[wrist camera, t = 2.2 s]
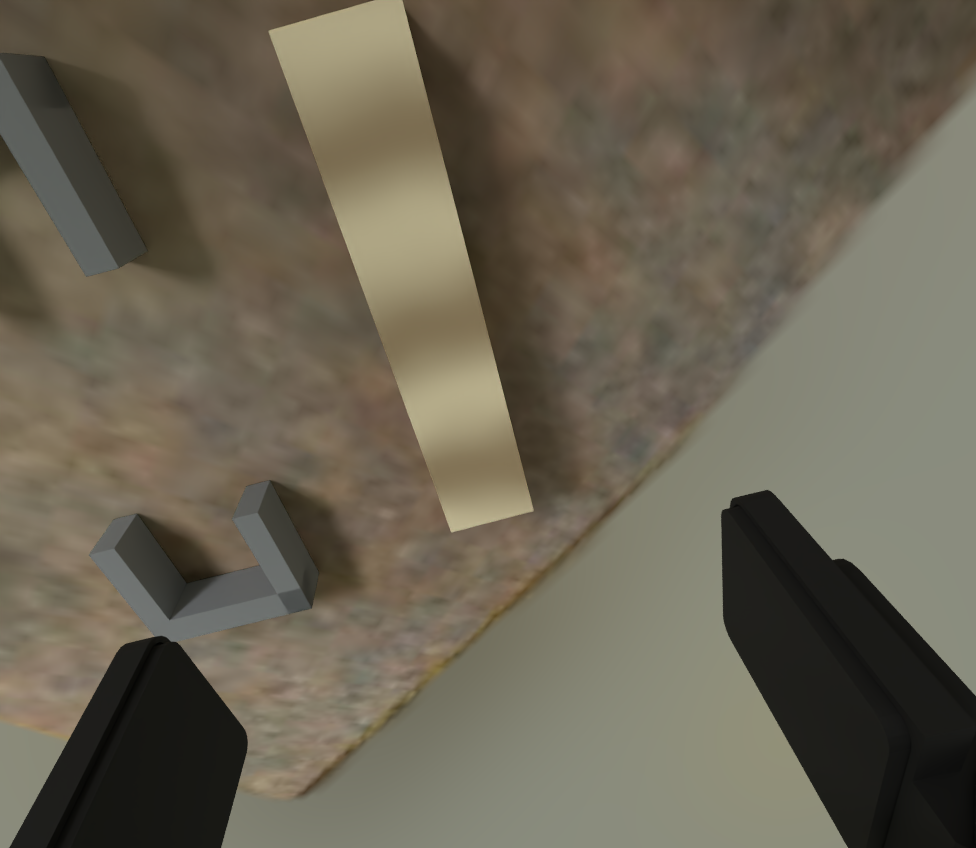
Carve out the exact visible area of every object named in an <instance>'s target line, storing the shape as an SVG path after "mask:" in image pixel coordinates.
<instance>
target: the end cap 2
mask: <svg viewBox="0 0 976 848" xmlns="http://www.w3.org/2000/svg"><path fill="white" fill-rule="evenodd" d="M232 520H233V521H234V523H235V525H236V526H237V528H238V530H239V531H240V533H241V535H242V536H243V538H244V540H245V541H246V543H247V545H248V546H249V548H250V550H251V551H252V553H253V555H254V556H255V558H256V560H257V561H258V563H259V566H255V567H251V568H247V569H243V570H239V571H235V572H231V573H227V574H223V575H219V576H215V577H211V578H207V579H203V580H199V581H195V582H191V583H186V582H185V580H184V579H183V578H182V576H181V575H180V573H179V572H178V571H177V569H176V568H175V566H174V565H173V564H172V562H171V561H170V559H169V558H168V557H167V555H166V554H165V552H164V551H163V550H162V548H161V547H160V545H159V544H158V542H157V541H156V540H155V538H154V537H153V535H152V534H151V533H150V531H149V530H148V528H147V527H146V526H145V524H144V523H143V521H142V520H141V519H140V517H139V516H138V514H134V515H130V516H126V517H122V518H118V519H114V520H113V521H112V523H111V524H110V525H109V527H108V528H107V530H106V531H105V533H104V534H103V535H102V537H101V538H100V540H99V541H98V542H97V544H96V545H95V547H94V548H93V550H92V551H91V552H90V554H89V556H90V557H91V558H92V560H93V561H94V562H95V563H96V565H97V566H98V567H99V568H100V569H101V571H102V572H103V573H104V574H105V576H106V577H107V578H108V579H109V581H110V582H111V583H112V584H113V586H114V587H115V588H116V589H117V590H118V592H119V593H120V594H121V595H122V597H123V598H124V599H125V600H126V602H127V603H128V604H129V605H130V607H131V608H132V609H133V610H134V611H135V613H136V614H137V615H138V616H139V618H140V619H141V620H142V621H143V623H144V624H145V625H146V626H147V628H148V629H149V630H150V631H151V633H152V634H153V635H154V636H155V637H156V636H164V637H167V638H168V639H169V640H170V641H171V642H177V641H181V640H185V639H189V638H193V637H197V636H201V635H205V634H209V633H213V632H217V631H222V630H226V629H230V628H234V627H238V626H242V625H246V624H250V623H254V622H258V621H262V620H266V619H270V618H274V617H278V616H283V615H287V614H291V613H295V612H299V611H303V610H307V609H311V608H312V605H313V600H314V595H315V590H316V585H317V580H318V575H319V572H318V570H317V568H316V566H315V564H314V562H313V561H312V559H311V557H310V555H309V553H308V551H307V549H306V547H305V546H304V544H303V542H302V540H301V538H300V536H299V534H298V532H297V531H296V529H295V527H294V525H293V523H292V521H291V519H290V517H289V515H288V514H287V512H286V510H285V508H284V506H283V504H282V502H281V500H280V499H279V497H278V495H277V493H276V491H275V489H274V487H273V485H272V484H271V482H270V480H269V481H265V482H261V483H257V484H253V485H249V486H246V488H245V490H244V493H243V495H242V497H241V500H240V502H239V504H238V507H237V509H236V511H235V514H234V516H233V518H232Z"/></svg>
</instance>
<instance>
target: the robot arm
mask: <svg viewBox="0 0 976 848" xmlns="http://www.w3.org/2000/svg"><path fill="white" fill-rule="evenodd" d="M721 527H722V577H723V579H722V580H723V619H724V624H725V627H726V630H727V633H728V635H729V637H730V639H731V641H732V643H733V645H734V647H735V648H736V650H737V652H738V654H739V655H740V657H741V659H742V661H743V663H744V664H745V666H746V668H747V670H748V671H749V673H750V675H751V677H752V678H753V680H754V682H755V683H756V686H757V687H758V689H759V691H760V693H761V694H762V696H763V698H764V700H765V701H766V703H767V705H768V707H769V709H770V710H771V712H772V714H773V716H774V717H775V719H776V721H777V723H778V724H779V726H780V728H781V730H782V732H783V733H784V735H785V737H786V739H787V740H788V742H789V744H790V746H791V748H792V749H793V751H794V753H795V755H796V756H797V758H798V760H799V762H800V763H801V765H802V767H803V768H804V771H805V772H806V774H807V776H808V778H809V779H810V781H811V783H812V785H813V787H814V788H815V790H816V792H817V794H818V795H819V797H820V799H821V801H822V802H823V804H824V806H825V808H826V810H827V811H828V813H829V815H830V817H831V818H832V820H833V822H834V824H835V826H836V827H837V829H838V831H839V833H840V834H841V836H842V838H843V840H844V842H845V843H846V845H847V846H848V848H976V696H975V695H974V694H973V693H972V692H971V690H970V689H969V688H968V687H967V686H966V685H965V684H964V683H963V682H962V681H961V680H960V678H959V677H958V676H957V675H956V674H955V673H954V672H953V671H952V670H951V669H950V668H949V666H948V665H947V664H946V663H945V662H944V661H943V660H942V659H941V658H940V657H939V656H938V655H937V653H936V652H935V651H934V650H933V649H932V648H931V647H930V646H929V645H928V644H927V643H926V641H925V640H923V638H922V637H921V636H920V635H919V634H918V633H917V632H916V631H915V629H914V628H913V627H912V626H911V625H910V624H909V623H908V622H907V621H906V620H905V619H904V618H903V616H902V615H901V614H900V613H899V612H898V611H897V610H896V609H895V608H894V607H893V606H892V605H891V603H889V601H888V600H887V599H886V598H885V597H884V596H883V595H882V594H881V592H880V591H879V590H878V589H877V588H876V587H875V586H874V585H873V584H872V583H871V582H870V581H869V580H868V578H867V577H866V576H865V575H864V574H863V573H862V572H861V571H860V570H859V569H858V568H857V567H856V566H855V565H853V564H852V563H851V562H849V561H847V560H845V559H835V560H832V559H831V558H830V557H829V556H828V555H827V554H826V552H825V551H824V550H823V549H822V548H821V547H820V546H819V545H818V544H817V542H816V541H815V540H814V539H813V538H812V537H811V535H810V534H809V533H808V532H807V531H806V530H805V529H804V527H803V526H802V525H801V524H800V523H799V522H798V521H797V519H796V518H795V517H794V516H793V515H792V514H791V513H790V512H789V510H788V509H787V508H786V507H785V506H784V505H783V504H782V502H781V501H780V500H779V499H778V498H777V497H776V496H775V495H774V494H773V493H772V492H771V491H768V490H765V491H761V492H757V493H753V494H748V495H744V496H740V497H736V498H733V499H732V501H731V504H730V508H729V509H725V510H723V511H722V514H721ZM247 746H248V741H247V735H246V731H245V730H244V728H243V727H242V725H241V724H240V723H239V721H238V720H237V719H236V717H235V716H234V715H233V714H232V712H231V711H230V710H229V708H228V707H227V706H226V704H225V703H224V702H223V701H222V699H221V698H220V697H219V695H218V694H217V693H216V691H215V690H214V689H213V688H212V686H211V685H210V684H209V682H208V681H207V680H206V678H205V677H204V676H203V675H202V673H201V672H200V671H199V669H198V668H197V667H196V665H195V664H194V663H193V662H192V660H191V659H190V658H189V656H188V655H187V654H186V652H185V651H184V650H183V649H182V647H181V646H180V645H179V644H178V643H177V642H171V641H170V640H169V639H168V638H167V637H164V636H156V637H152V638H148V639H144V640H139V641H135V642H131V643H127V644H125V645H123V646H122V647H121V648H120V649H119V651H118V652H117V653H116V655H115V657H114V659H113V660H112V662H111V664H110V666H109V668H108V670H107V671H106V673H105V675H104V677H103V679H102V680H101V682H100V684H99V686H98V688H97V690H96V691H95V693H94V695H93V697H92V699H91V700H90V702H89V704H88V706H87V708H86V710H85V711H84V713H83V715H82V717H81V719H80V720H79V722H78V724H77V726H76V728H75V730H74V731H73V733H72V735H71V737H70V739H69V740H68V742H67V744H66V746H65V748H64V750H63V751H62V753H61V755H60V757H59V759H58V760H57V762H56V764H55V766H54V768H53V769H52V771H51V773H50V775H49V777H48V779H47V780H46V782H45V784H44V786H43V788H42V789H41V791H40V793H39V795H38V797H37V799H36V801H35V802H34V804H33V806H32V808H31V809H30V811H29V813H28V815H27V817H26V819H25V820H24V822H23V824H22V826H21V828H20V830H19V831H18V833H17V835H16V837H15V839H14V840H13V842H12V844H11V846H10V848H221V845H222V842H223V838H224V835H225V831H226V827H227V824H228V820H229V816H230V812H231V809H232V805H233V801H234V798H235V794H236V790H237V786H238V783H239V779H240V775H241V772H242V768H243V764H244V760H245V757H246V753H247Z"/></svg>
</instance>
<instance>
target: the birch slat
mask: <svg viewBox="0 0 976 848" xmlns="http://www.w3.org/2000/svg"><path fill="white" fill-rule="evenodd" d="M269 34H270V37H271V40H272V42H273V45H274V48H275V51H276V53H277V56H278V59H279V62H280V64H281V67H282V70H283V73H284V75H285V78H286V81H287V84H288V86H289V89H290V92H291V94H292V97H293V100H294V103H295V105H296V108H297V111H298V114H299V116H300V119H301V122H302V125H303V127H304V130H305V133H306V136H307V138H308V141H309V144H310V147H311V149H312V152H313V155H314V158H315V160H316V163H317V166H318V168H319V171H320V174H321V177H322V179H323V182H324V185H325V188H326V190H327V193H328V196H329V199H330V201H331V204H332V207H333V210H334V212H335V215H336V218H337V221H338V223H339V226H340V229H341V231H342V234H343V237H344V240H345V242H346V245H347V248H348V251H349V253H350V256H351V259H352V262H353V264H354V267H355V270H356V273H357V275H358V278H359V281H360V284H361V286H362V289H363V292H364V295H365V297H366V300H367V303H368V305H369V308H370V311H371V314H372V316H373V319H374V322H375V325H376V327H377V330H378V333H379V336H380V338H381V341H382V344H383V347H384V349H385V352H386V355H387V358H388V360H389V363H390V366H391V368H392V371H393V374H394V377H395V379H396V382H397V385H398V388H399V390H400V393H401V396H402V399H403V401H404V404H405V407H406V410H407V412H408V415H409V418H410V421H411V423H412V426H413V429H414V431H415V434H416V437H417V440H418V442H419V445H420V448H421V451H422V453H423V456H424V459H425V462H426V464H427V467H428V470H429V473H430V475H431V478H432V481H433V484H434V486H435V489H436V492H437V495H438V497H439V500H440V503H441V505H442V508H443V511H444V514H445V516H446V519H447V522H448V525H449V527H450V530H451V532H455V531H459V530H463V529H467V528H470V527H474V526H478V525H482V524H486V523H490V522H493V521H497V520H501V519H505V518H509V517H513V516H516V515H520V514H524V513H528V512H532V511H534V510H533V506H532V502H531V498H530V494H529V490H528V487H527V483H526V479H525V475H524V471H523V467H522V463H521V459H520V455H519V452H518V448H517V444H516V440H515V436H514V432H513V428H512V424H511V421H510V417H509V413H508V409H507V405H506V401H505V397H504V393H503V389H502V386H501V382H500V378H499V374H498V370H497V366H496V362H495V358H494V354H493V351H492V347H491V343H490V339H489V335H488V331H487V327H486V323H485V319H484V316H483V312H482V308H481V304H480V300H479V296H478V292H477V288H476V284H475V281H474V277H473V273H472V269H471V265H470V261H469V257H468V253H467V249H466V246H465V242H464V238H463V234H462V230H461V226H460V222H459V218H458V215H457V211H456V207H455V203H454V199H453V195H452V191H451V187H450V183H449V180H448V176H447V172H446V168H445V164H444V160H443V156H442V152H441V148H440V145H439V141H438V137H437V133H436V129H435V125H434V121H433V117H432V113H431V110H430V106H429V102H428V98H427V94H426V90H425V86H424V82H423V78H422V75H421V71H420V67H419V63H418V59H417V55H416V51H415V47H414V43H413V40H412V36H411V32H410V28H409V24H408V20H407V16H406V12H405V9H404V5H403V1H402V0H374V1H370V2H367V3H363V4H360V5H356V6H353V7H349V8H346V9H342V10H339V11H335V12H332V13H328V14H325V15H321V16H318V17H315V18H311V19H308V20H304V21H301V22H297V23H294V24H290V25H287V26H283V27H280V28H276V29H273V30H269Z"/></svg>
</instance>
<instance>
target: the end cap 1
mask: <svg viewBox="0 0 976 848" xmlns="http://www.w3.org/2000/svg"><path fill="white" fill-rule="evenodd" d="M0 134H1V136H2V138H3V139H4V141H5V143H6V144H7V146H8V148H9V149H10V151H11V153H12V154H13V156H14V158H15V159H16V161H17V163H18V164H19V166H20V168H21V169H22V171H23V173H24V174H25V176H26V178H27V179H28V181H29V183H30V184H31V186H32V188H33V189H34V191H35V192H36V194H37V196H38V197H39V199H40V201H41V202H42V204H43V206H44V207H45V209H46V211H47V212H48V214H49V216H50V217H51V219H52V221H53V222H54V224H55V226H56V227H57V229H58V231H59V232H60V234H61V236H62V237H63V239H64V241H65V242H66V244H67V246H68V247H69V249H70V251H71V252H72V254H73V256H74V257H75V259H76V261H77V262H78V264H79V266H80V267H81V269H82V271H83V272H84V274H85V276H86V277H87V276H91V275H95V274H99V273H103V272H106V271H110V270H114V269H118V268H120V267H122V266H124V265H125V264H127V263H129V262H130V261H132V260H134V259H135V258H137V257H139V256H140V255H142V254H144V253H145V252H147V249H146V247H145V245H144V243H143V241H142V239H141V237H140V235H139V234H138V232H137V230H136V228H135V226H134V224H133V222H132V220H131V219H130V217H129V215H128V213H127V211H126V209H125V207H124V205H123V204H122V202H121V200H120V198H119V196H118V194H117V192H116V190H115V188H114V187H113V185H112V183H111V181H110V179H109V177H108V175H107V173H106V172H105V170H104V168H103V166H102V164H101V162H100V160H99V158H98V157H97V155H96V153H95V151H94V149H93V147H92V145H91V143H90V141H89V140H88V138H87V136H86V134H85V132H84V130H83V128H82V126H81V125H80V123H79V121H78V119H77V117H76V115H75V113H74V111H73V110H72V108H71V106H70V104H69V102H68V100H67V98H66V96H65V95H64V93H63V91H62V89H61V87H60V85H59V83H58V81H57V79H56V78H55V76H54V74H53V72H52V70H51V68H50V66H49V64H48V63H47V61H46V59H45V57H42V56H31V55H20V54H9V53H0Z"/></svg>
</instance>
